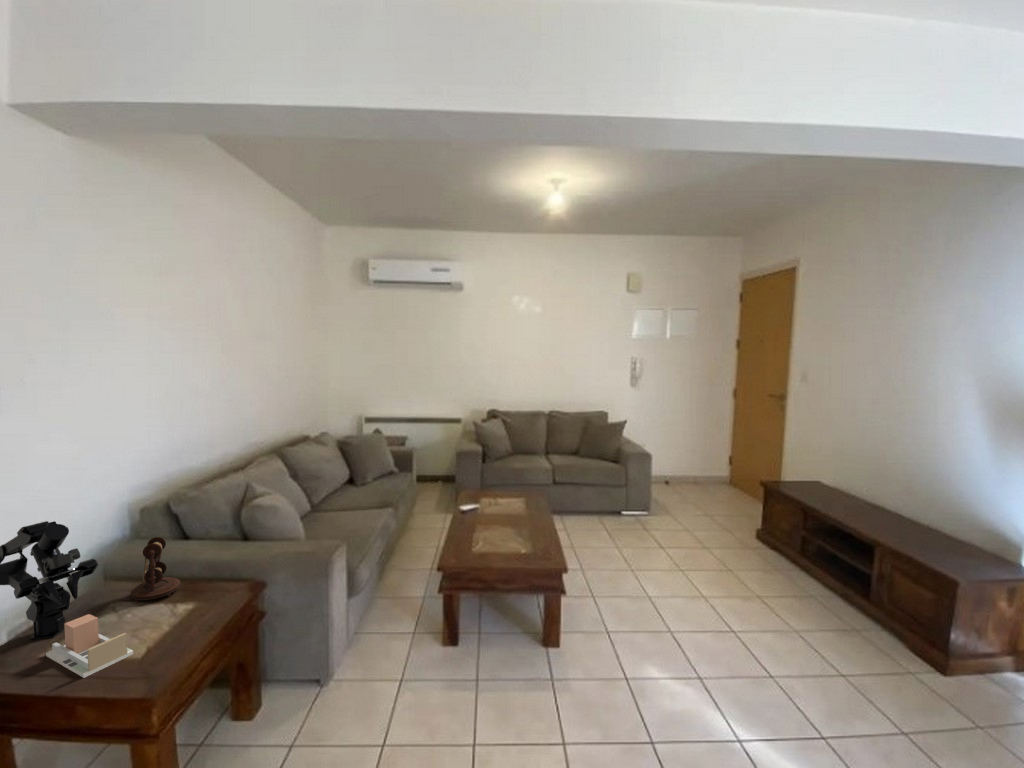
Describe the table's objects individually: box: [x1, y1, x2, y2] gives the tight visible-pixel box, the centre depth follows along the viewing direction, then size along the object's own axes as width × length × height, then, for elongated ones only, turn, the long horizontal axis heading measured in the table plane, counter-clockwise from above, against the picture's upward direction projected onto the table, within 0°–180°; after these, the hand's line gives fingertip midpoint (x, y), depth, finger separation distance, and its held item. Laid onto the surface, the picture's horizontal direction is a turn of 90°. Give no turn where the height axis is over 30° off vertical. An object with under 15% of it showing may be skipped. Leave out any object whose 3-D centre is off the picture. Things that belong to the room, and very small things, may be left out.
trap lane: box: [45, 632, 134, 679], centre depth 145 cm, size 21×12×7 cm, turn 64°
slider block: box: [64, 613, 100, 653], centre depth 146 cm, size 5×6×8 cm
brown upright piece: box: [130, 536, 181, 603], centre depth 181 cm, size 15×15×20 cm
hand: (68, 601), depth 149 cm, fingers open, 3 cm apart
